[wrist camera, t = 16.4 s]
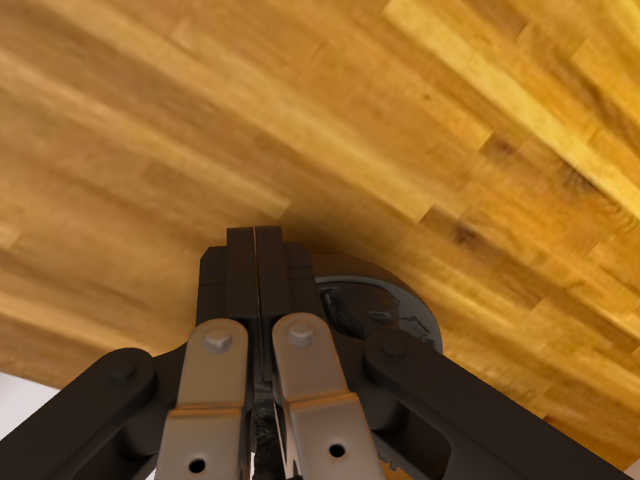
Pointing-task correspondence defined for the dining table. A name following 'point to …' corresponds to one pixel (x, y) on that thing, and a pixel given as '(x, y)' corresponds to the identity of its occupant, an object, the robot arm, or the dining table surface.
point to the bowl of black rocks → (349, 320)
